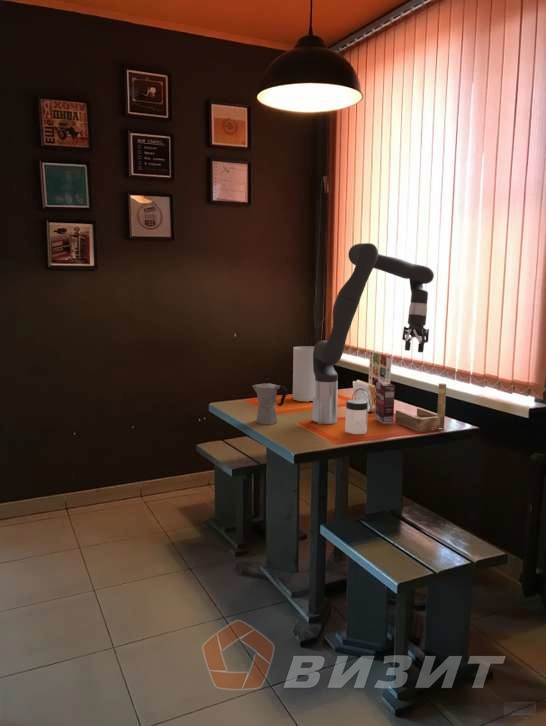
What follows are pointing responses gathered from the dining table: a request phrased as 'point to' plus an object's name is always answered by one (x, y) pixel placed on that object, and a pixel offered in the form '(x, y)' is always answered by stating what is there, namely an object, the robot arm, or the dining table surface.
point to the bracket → (425, 415)
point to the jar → (356, 416)
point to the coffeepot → (268, 401)
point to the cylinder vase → (303, 373)
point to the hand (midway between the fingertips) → (413, 351)
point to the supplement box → (384, 402)
